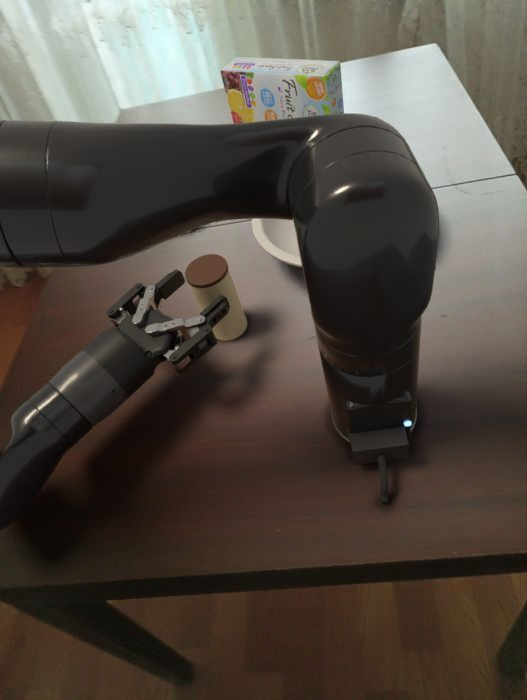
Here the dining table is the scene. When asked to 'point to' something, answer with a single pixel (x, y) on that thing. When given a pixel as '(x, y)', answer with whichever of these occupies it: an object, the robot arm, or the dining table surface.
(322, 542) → the dining table surface
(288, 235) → the soup bowl
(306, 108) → the snack box
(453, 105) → the dining table surface
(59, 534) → the dining table surface
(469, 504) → the dining table surface
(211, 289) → the canister
